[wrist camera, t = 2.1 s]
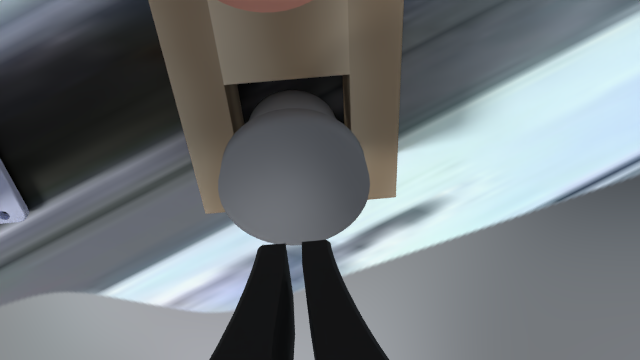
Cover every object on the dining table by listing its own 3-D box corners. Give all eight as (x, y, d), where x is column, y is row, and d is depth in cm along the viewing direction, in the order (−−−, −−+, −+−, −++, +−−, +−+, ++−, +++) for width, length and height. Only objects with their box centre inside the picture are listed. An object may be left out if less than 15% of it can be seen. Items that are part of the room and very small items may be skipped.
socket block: (214, 172, 22) (205, 213, 20) (110, -259, 14) (74, -277, 11) (383, 157, 23) (395, 197, 20) (392, -280, 14) (416, -303, 11)
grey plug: (240, 186, 20) (232, 251, 17) (218, 77, 17) (203, 131, 14) (356, 176, 20) (370, 238, 17) (354, 66, 17) (369, 117, 14)
